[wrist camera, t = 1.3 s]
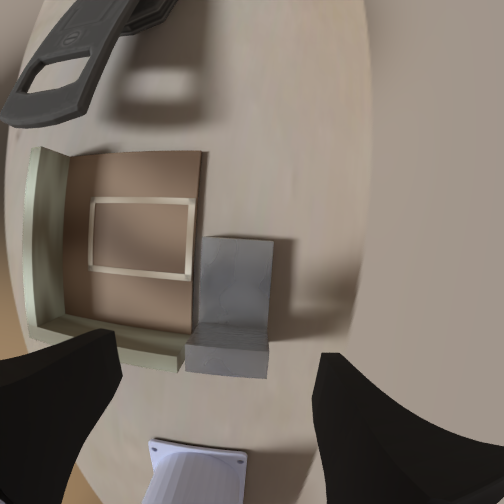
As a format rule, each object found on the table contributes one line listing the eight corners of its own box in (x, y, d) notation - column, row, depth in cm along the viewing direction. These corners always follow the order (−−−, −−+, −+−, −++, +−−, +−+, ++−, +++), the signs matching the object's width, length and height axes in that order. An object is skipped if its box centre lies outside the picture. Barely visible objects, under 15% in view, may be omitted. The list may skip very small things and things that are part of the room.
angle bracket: (264, 341, 18) (266, 378, 13) (202, 337, 18) (185, 371, 13) (272, 240, 18) (278, 244, 13) (206, 236, 18) (187, 238, 13)
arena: (192, 346, 18) (177, 373, 14) (60, 322, 18) (29, 337, 15) (202, 152, 17) (187, 132, 13) (63, 159, 17) (31, 148, 14)
